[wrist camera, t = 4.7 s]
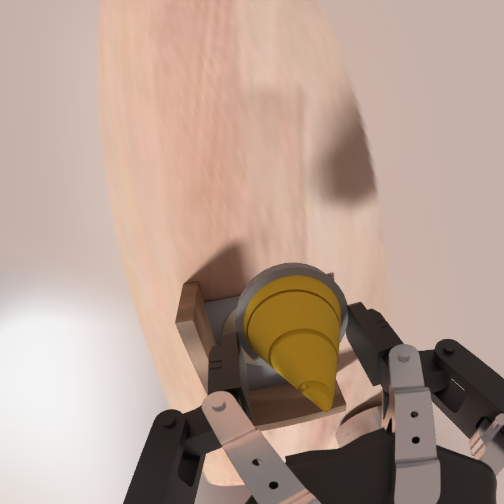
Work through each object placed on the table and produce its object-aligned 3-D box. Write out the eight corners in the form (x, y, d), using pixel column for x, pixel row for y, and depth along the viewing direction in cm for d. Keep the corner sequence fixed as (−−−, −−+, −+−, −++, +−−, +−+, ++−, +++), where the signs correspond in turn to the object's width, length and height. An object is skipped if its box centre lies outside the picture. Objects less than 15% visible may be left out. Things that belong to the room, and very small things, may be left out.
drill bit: (266, 352, 17) (286, 483, 7) (219, 282, 16) (189, 390, 6) (341, 309, 17) (426, 410, 7) (300, 234, 16) (382, 283, 6)
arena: (331, 376, 28) (345, 410, 24) (226, 398, 28) (229, 435, 24) (328, 254, 22) (353, 285, 18) (183, 284, 22) (175, 323, 18)
